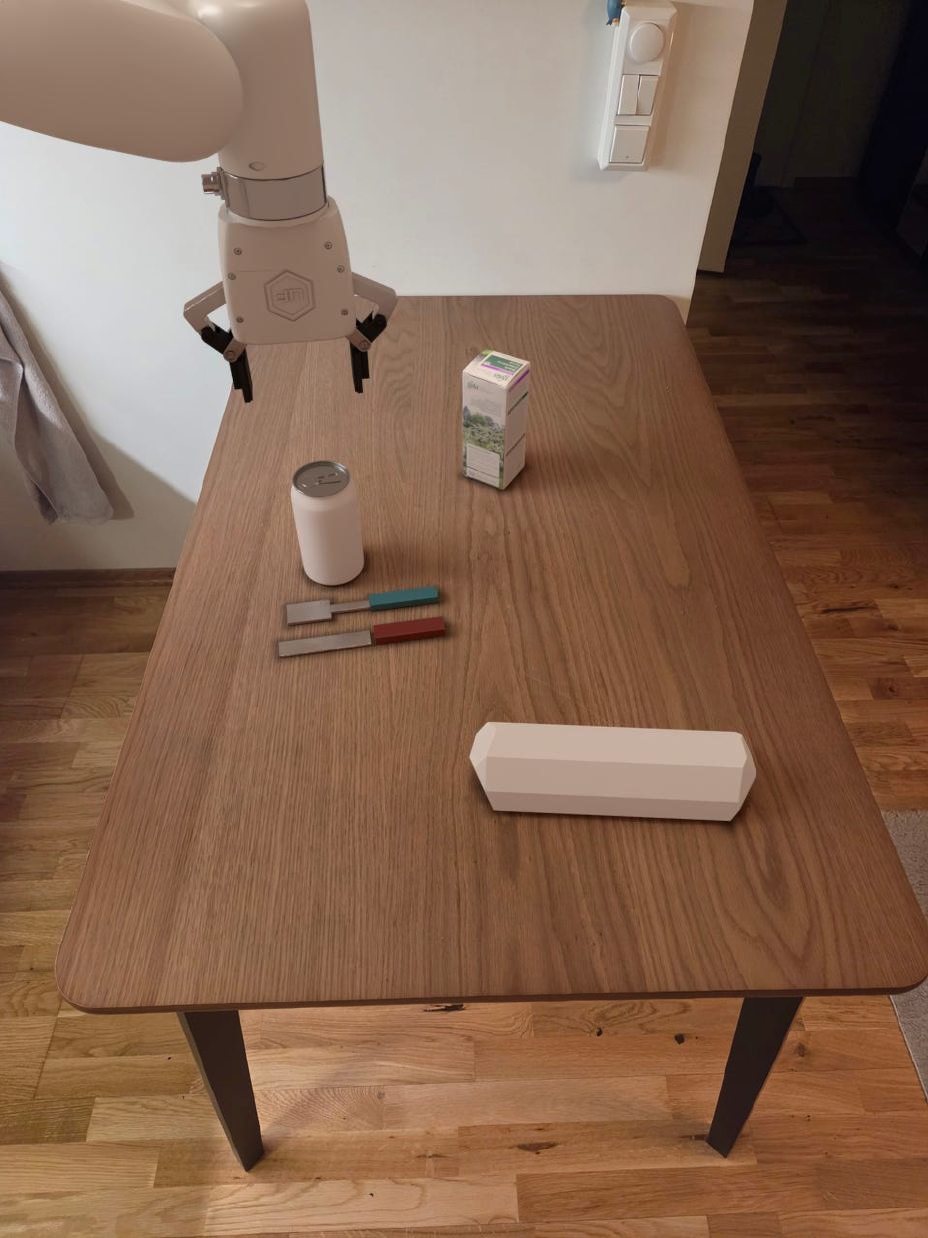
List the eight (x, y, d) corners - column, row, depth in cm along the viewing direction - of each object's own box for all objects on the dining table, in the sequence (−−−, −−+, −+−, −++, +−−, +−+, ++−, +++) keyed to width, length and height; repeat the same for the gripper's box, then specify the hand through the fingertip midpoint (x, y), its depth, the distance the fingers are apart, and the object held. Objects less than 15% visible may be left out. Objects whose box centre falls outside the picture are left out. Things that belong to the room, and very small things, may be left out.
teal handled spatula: (288, 625, 86) (286, 619, 86) (287, 607, 88) (285, 601, 88) (439, 606, 88) (439, 600, 88) (435, 588, 90) (435, 582, 89)
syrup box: (525, 466, 104) (533, 358, 93) (502, 493, 101) (507, 384, 90) (485, 451, 106) (487, 344, 95) (460, 477, 103) (460, 369, 92)
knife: (279, 657, 84) (278, 651, 83) (278, 644, 85) (277, 637, 84) (445, 635, 86) (445, 629, 85) (442, 622, 87) (442, 615, 86)
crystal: (747, 708, 75) (472, 697, 76) (772, 744, 68) (469, 731, 69) (736, 784, 77) (469, 772, 78) (759, 826, 70) (466, 813, 71)
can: (299, 552, 94) (282, 463, 85) (357, 540, 95) (346, 452, 86) (310, 593, 90) (293, 504, 81) (370, 580, 91) (361, 491, 82)
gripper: (152, 214, 60) (203, 422, 73) (397, 201, 62) (406, 404, 75) (158, 174, 65) (205, 375, 78) (385, 163, 67) (395, 359, 80)
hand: (303, 389), depth 76 cm, fingers open, 9 cm apart
